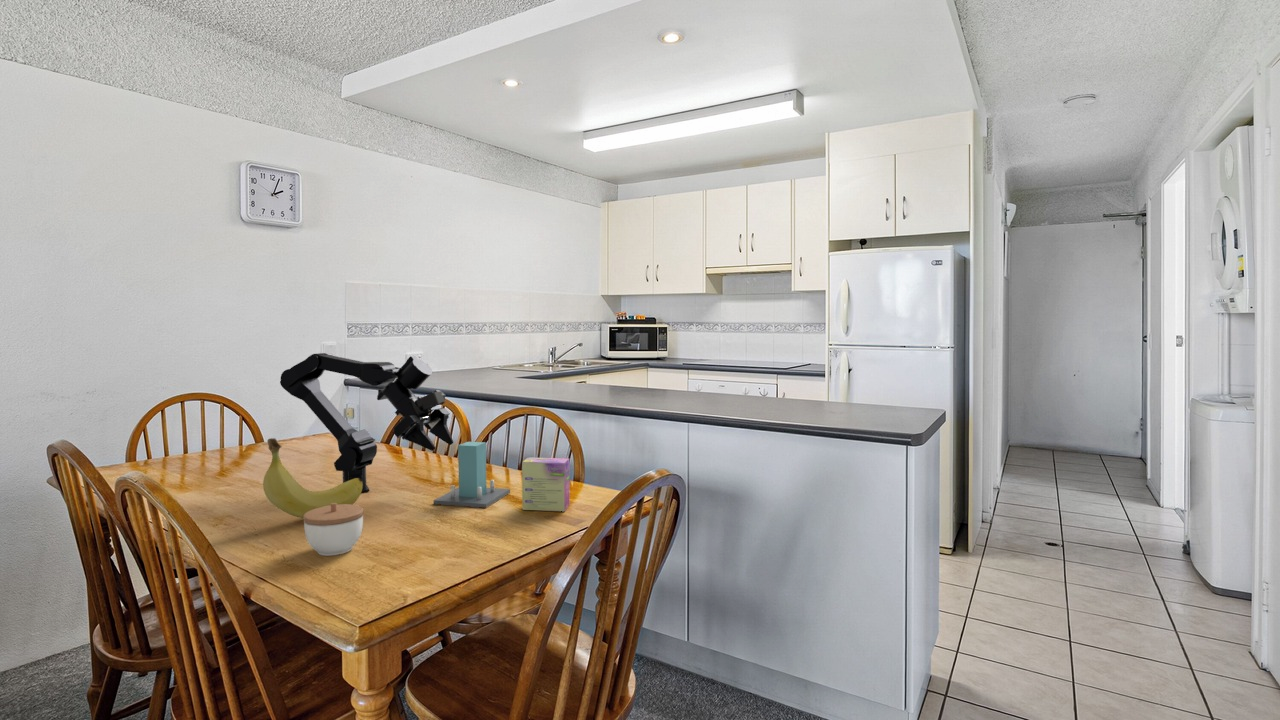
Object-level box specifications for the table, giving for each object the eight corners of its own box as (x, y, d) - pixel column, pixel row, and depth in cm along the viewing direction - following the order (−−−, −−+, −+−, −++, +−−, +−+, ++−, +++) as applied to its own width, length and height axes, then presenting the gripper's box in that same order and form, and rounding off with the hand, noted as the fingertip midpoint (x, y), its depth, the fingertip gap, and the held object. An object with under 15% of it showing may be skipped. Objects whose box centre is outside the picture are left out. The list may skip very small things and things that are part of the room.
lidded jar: (342, 562, 122) (341, 513, 122) (291, 558, 124) (290, 510, 124) (375, 542, 133) (374, 497, 132) (328, 539, 135) (326, 494, 134)
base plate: (433, 504, 160) (433, 488, 160) (461, 489, 174) (461, 474, 173) (486, 508, 157) (485, 491, 157) (510, 492, 171) (510, 477, 170)
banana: (355, 504, 160) (353, 423, 159) (369, 508, 157) (367, 426, 155) (259, 529, 141) (256, 437, 140) (273, 534, 138) (270, 440, 137)
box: (570, 505, 160) (569, 457, 159) (565, 512, 154) (564, 462, 153) (528, 504, 161) (528, 456, 160) (522, 510, 155) (521, 461, 154)
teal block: (459, 496, 164) (458, 445, 163) (468, 491, 168) (468, 441, 168) (477, 497, 162) (476, 446, 161) (486, 492, 167) (485, 442, 166)
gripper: (405, 382, 157) (446, 430, 155) (443, 378, 175) (480, 421, 174) (375, 413, 159) (415, 461, 157) (416, 405, 177) (452, 448, 176)
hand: (443, 446), depth 166 cm, fingers open, 9 cm apart
